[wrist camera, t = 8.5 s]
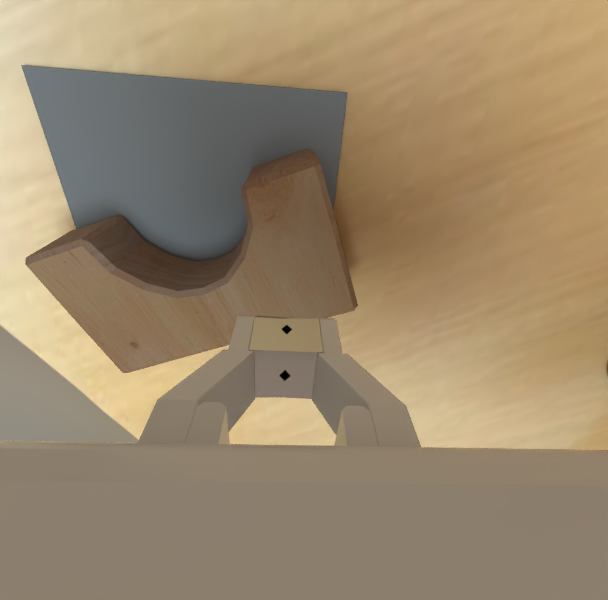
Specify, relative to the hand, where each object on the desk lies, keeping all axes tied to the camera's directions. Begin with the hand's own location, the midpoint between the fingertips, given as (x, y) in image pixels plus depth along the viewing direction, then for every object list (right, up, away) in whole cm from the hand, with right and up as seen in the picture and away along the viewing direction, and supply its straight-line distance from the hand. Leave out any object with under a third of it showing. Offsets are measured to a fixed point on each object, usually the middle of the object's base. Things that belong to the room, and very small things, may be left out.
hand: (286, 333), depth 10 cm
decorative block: (+3, +6, +13) cm, 14 cm away
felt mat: (-7, +9, +14) cm, 18 cm away
